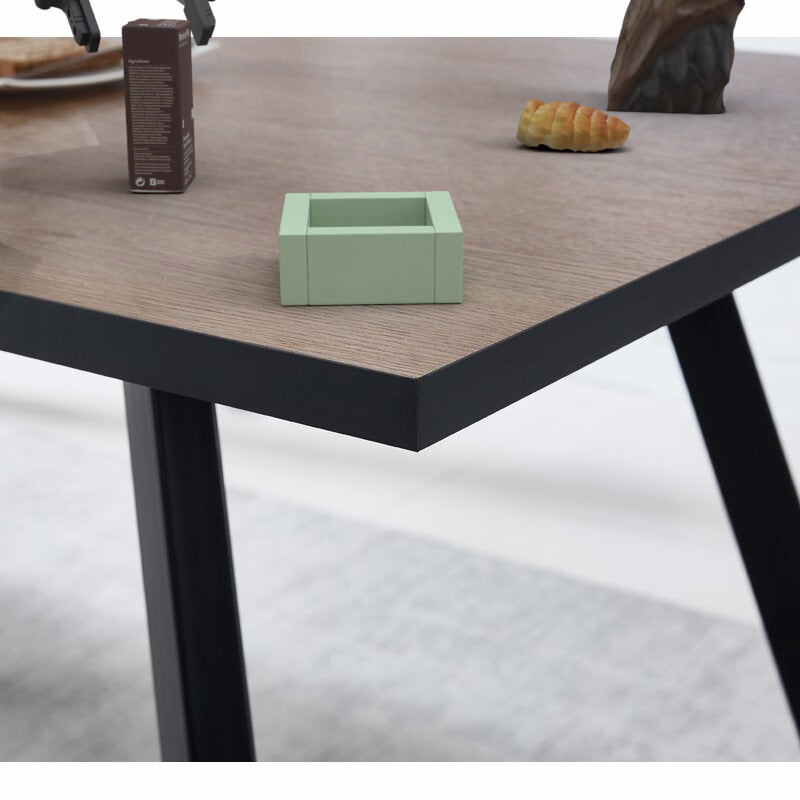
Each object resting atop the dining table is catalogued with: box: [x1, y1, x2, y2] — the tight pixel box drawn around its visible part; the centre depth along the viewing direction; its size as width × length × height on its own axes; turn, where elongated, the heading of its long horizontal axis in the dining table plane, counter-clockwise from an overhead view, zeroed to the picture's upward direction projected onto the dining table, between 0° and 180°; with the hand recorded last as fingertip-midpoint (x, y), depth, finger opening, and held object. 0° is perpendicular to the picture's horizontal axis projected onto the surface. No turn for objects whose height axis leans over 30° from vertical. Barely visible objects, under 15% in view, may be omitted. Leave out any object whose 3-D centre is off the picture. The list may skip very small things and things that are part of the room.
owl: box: [606, 0, 746, 115], centre depth 130 cm, size 13×13×20 cm
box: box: [121, 17, 196, 194], centre depth 97 cm, size 6×4×12 cm
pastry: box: [515, 98, 631, 153], centre depth 113 cm, size 9×7×4 cm
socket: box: [277, 190, 464, 307], centre depth 75 cm, size 10×10×4 cm
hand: (151, 42), depth 96 cm, fingers open, 8 cm apart
